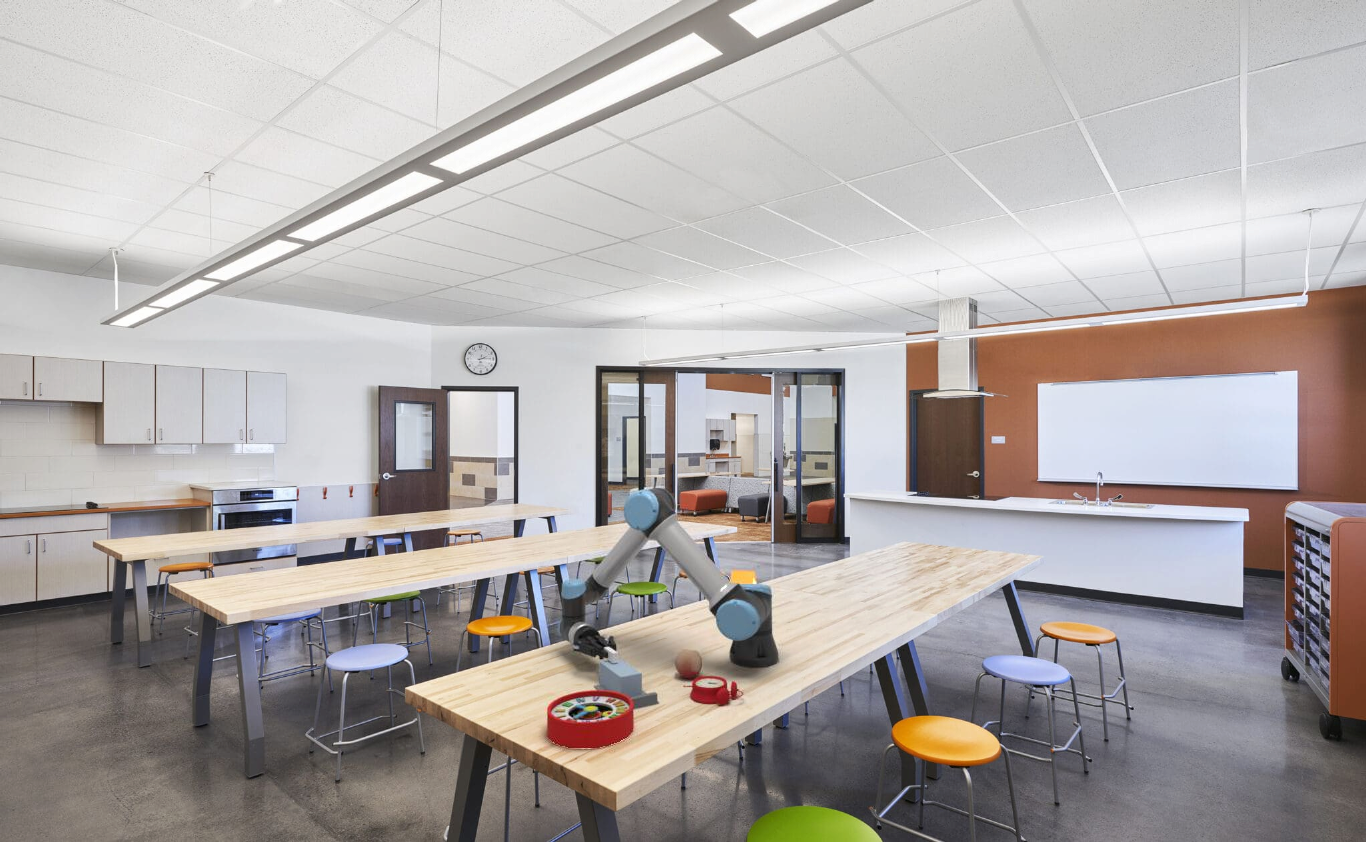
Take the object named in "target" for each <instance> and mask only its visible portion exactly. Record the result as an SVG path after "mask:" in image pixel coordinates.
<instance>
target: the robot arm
mask: <svg viewBox="0 0 1366 842" xmlns="http://www.w3.org/2000/svg"><path fill="white" fill-rule="evenodd" d="M676 510H677V504H676V499H675V498H674V496H673V495H672V493H671V492H669V491H668V490H667V489H665V488H660V487H655V488H650V489H639V490H638V491H635V492H633V493H631V494H630V495H629V496H628V498H627V499H626V500H625V503H624V506H623V517H624V520H625V522H626V523H627V525H628V526H629V528H628V529H627V530H626V531H625V533H624V534H623V535H622V536H621V538H620V539H619V540H618V541H617V543H616V544H615V545H614V546H613V547H612V549H611V550H610V551H609V552H608V553H607V555H605V557H604V558H603V560H601V562H600V563H599V564H598V566H597V567H596V568H595V569H594V570H593V572H592V573H591V574H590V576H588V578H586V580H584V579H582V578H578V579H576V578H573V579H566V580H564V581H563V582H562V583H561V594H560V595H561V619H560V620H559V622H558V625H557V631H558V634H559V635H560V636H561V638H562V639H564V640H565V641H567V642H568V643H570V644H571V645H572V646H573V647H572V649H573V652H577V653H580V654H584V655H585V656H588V657H591V658H596V657H597V656H598V658H599V660H600V661H603V660H604V659H606V660H609V661H610V662H612V663H618V658H619V652H618V651H617V647H618V646H617V643H616V642H615V640H614V639H615V638H614V635H610V636H608V637H607V638H606V637H605V636H602V635H601V634H600V632H599V631H598V630H597V628H595V627H593V626H591V625H590V624H588V623H586V616H587V615H586V614H587V612H586V610H587V609H586V607H587V606H589V605H591V604H594V603H595V602H598V601H601V600H602V599H603V598H606V596H607V595H608V593H609V589H610V587H611V586H612V585H613V584H614V582H615V581H616V580H617V579H618V578H619V577H620V576H621V574H622V573H623V572H624V570H625V569H626V568H627V567H628V566H629V565H630V563H631V562H632V561H633V560H634V558H635V557H636V556H637V555H638V554H639V553H640V551H641V550H642V549H643V548H644V546H645V545H646V544H647V543H648V542H649V541H653V542H654V541H655V542H657V544H658V545H660V547H661V548H662V549H663V550H664V551H665V552H666V554H667V555H668V557H670V558H671V560H672V561H673V562H674V563H675V564H676V566H677V567H679V569H680V570H681V571H682V573H684V574H685V576H686V577H687V578H688V580H690V582H691V583H692V584H693V585H694V586H695V587H696V589H697V590H698V591H699V593H701V594H702V595H703V597H704V598H705V599H706V600H707V602H708V610H709V612H710V613H711V614H712V615H713V616H714V618H715V623H716V626H717V629H718V630H719V632H720V634H722V635H723V636H724V637H725V638H727V639H729V640H731V645H730V649H729V653H728V654H729V656H728V657H729V661H730V662H731V663H732V664H734V665H735V664H736V665H737V666H742V667H747V668H761V667H762V668H763V667H768V666H772V665H775V664H777V663H778V662H779V659H780V658H779V649H778V646H777V644H776V641H775V639H774V635H773V602H772V599H773V594H772V593H773V592H772V588H771V586H770V585H767V584H762V583H757V584H739V583H735V582H730V579H728V577H726V575H725V574H724V573H723V572H722V571H721V570H720V568H719V567H718V566H717V564H715V563H714V561H712V559H710V557H709V556H708V555H707V553H705V552H704V550H703V549H702V547H700V546H699V544H698V543H697V542H696V541H695V540H694V539H693V538H692V537H691V536H690V534H689V533H688V532H687V531H686V530H685V529H684V528H683V526H682V525H680V523H679V522H678V514H677V513H678V512H676Z"/></svg>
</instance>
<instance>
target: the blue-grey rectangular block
mask: <svg viewBox="0 0 1366 842" xmlns="http://www.w3.org/2000/svg"><path fill="white" fill-rule="evenodd" d="M598 665H599V668H598V669H599V673H598V674H599V685H602V686H603V687H604V688H606V689H607V690H608V691H613V692H618V693H622V694H624V695H627V696H628V697H634V696H638V695H642V690H643V678H642V677H643V676H642V675H643V674H642V672H640V671H639V670H638V669H636V668H635V667H633V666H632V665H631V664H628V663H627V662H626V661H624V660H623V659H621V658H619V657H618V663H612V662H610V661H609V660H607V659H606V660H600V661H599V663H598Z"/></svg>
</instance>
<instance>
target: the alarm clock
mask: <svg viewBox="0 0 1366 842" xmlns="http://www.w3.org/2000/svg"><path fill="white" fill-rule="evenodd" d="M691 683H692V684H691V685H683V688H691V691H690V693H689V698H690V699H691V700H692V701H694V702H697V703H700V704H706V705H708V704H709V705H710V704H713V705H714V704H715V705H716V704H717V705H719V706H726V705H727V704H728V703H729V702H730V699H738V698H741V697H743V695H744V692H743V691H741V690H740V688H739V689H738V684H737V683H736V681H732V680H731V683H730V690H729V689H728V682H727V680H726V678H723V677H721V676H717V675H703V676H696V677H694V678H693V680H692V682H691ZM738 692H739V693H741V694H740V695H739V696H737V695H738ZM725 704H726V705H725Z"/></svg>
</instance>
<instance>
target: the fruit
mask: <svg viewBox="0 0 1366 842" xmlns="http://www.w3.org/2000/svg"><path fill="white" fill-rule="evenodd" d="M674 665H675V669H676V671H677V673H678V674H679V675H680V677H682V678H685V679H691V680H692V679H695V678H697V677H698V675H699V674H700V673H701V671H702V668H703V657H702V656H701V654H700V653H699V652H698V650H696V649H687V648H684V649H682V650H680V651H679V652H677V653H676V656H675V659H674Z"/></svg>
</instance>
